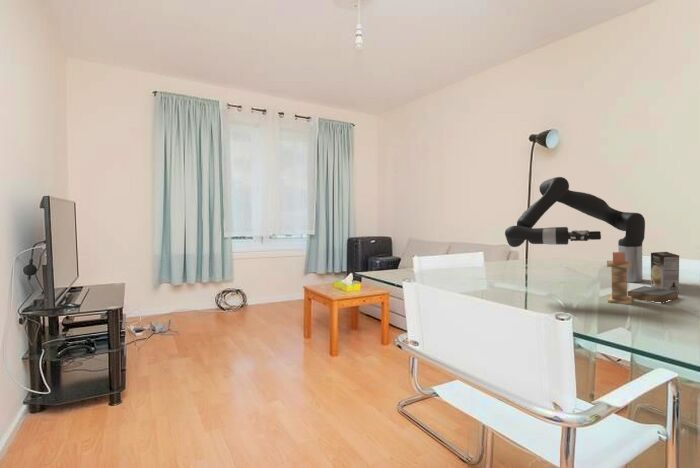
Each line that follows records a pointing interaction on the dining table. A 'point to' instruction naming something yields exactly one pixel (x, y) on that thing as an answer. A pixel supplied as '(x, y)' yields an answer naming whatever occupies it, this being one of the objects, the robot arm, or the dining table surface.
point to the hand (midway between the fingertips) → (600, 235)
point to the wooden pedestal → (619, 283)
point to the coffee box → (665, 271)
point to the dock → (653, 294)
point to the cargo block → (618, 257)
